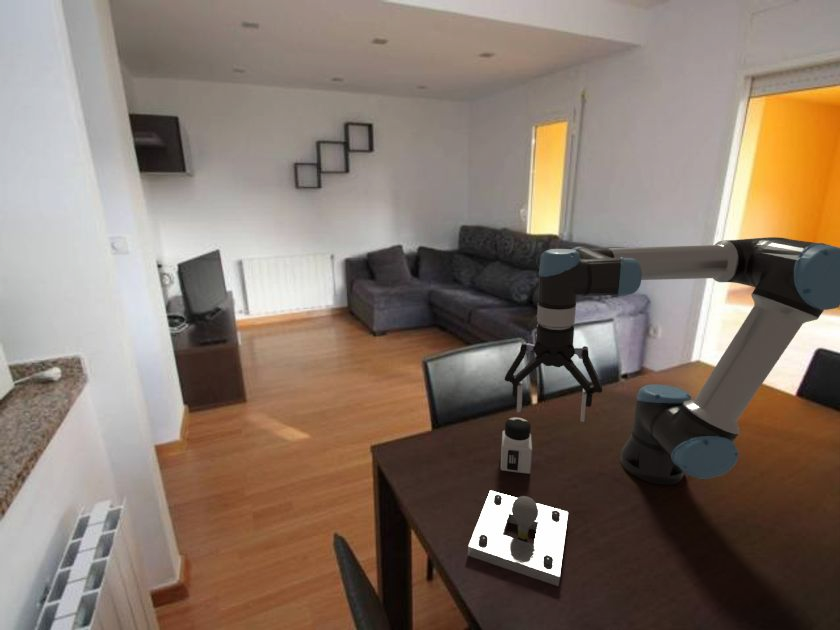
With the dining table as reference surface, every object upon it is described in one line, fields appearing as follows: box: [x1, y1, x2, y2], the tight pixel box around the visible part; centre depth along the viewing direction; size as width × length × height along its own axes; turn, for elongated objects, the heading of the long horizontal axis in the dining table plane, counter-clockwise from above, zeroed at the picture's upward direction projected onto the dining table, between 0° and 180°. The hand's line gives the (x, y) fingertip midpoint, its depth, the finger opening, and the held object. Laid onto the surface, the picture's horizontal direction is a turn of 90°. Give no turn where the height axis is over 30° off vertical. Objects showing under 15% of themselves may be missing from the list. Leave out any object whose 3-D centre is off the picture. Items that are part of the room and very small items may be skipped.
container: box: [500, 417, 533, 474], centre depth 115 cm, size 8×8×13 cm
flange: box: [467, 490, 569, 587], centre depth 92 cm, size 18×18×3 cm
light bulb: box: [512, 495, 538, 540], centre depth 91 cm, size 5×5×10 cm
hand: (550, 413), depth 96 cm, fingers open, 13 cm apart
